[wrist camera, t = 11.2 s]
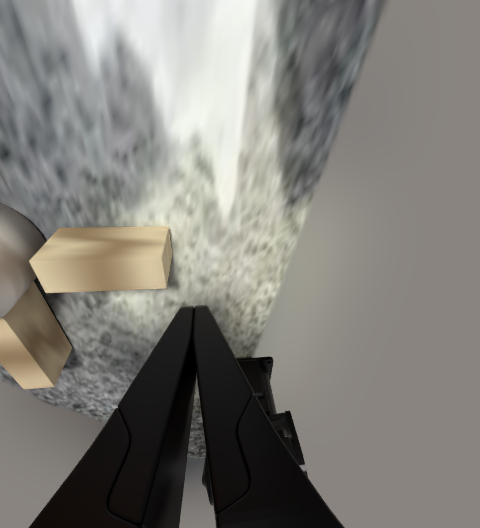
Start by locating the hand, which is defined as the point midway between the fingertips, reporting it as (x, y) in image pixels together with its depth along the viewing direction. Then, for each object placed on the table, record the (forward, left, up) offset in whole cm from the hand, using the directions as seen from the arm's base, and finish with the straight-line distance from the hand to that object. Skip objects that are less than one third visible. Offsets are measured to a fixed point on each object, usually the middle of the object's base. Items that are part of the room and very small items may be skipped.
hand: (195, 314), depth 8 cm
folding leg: (-4, +6, -12) cm, 14 cm away
